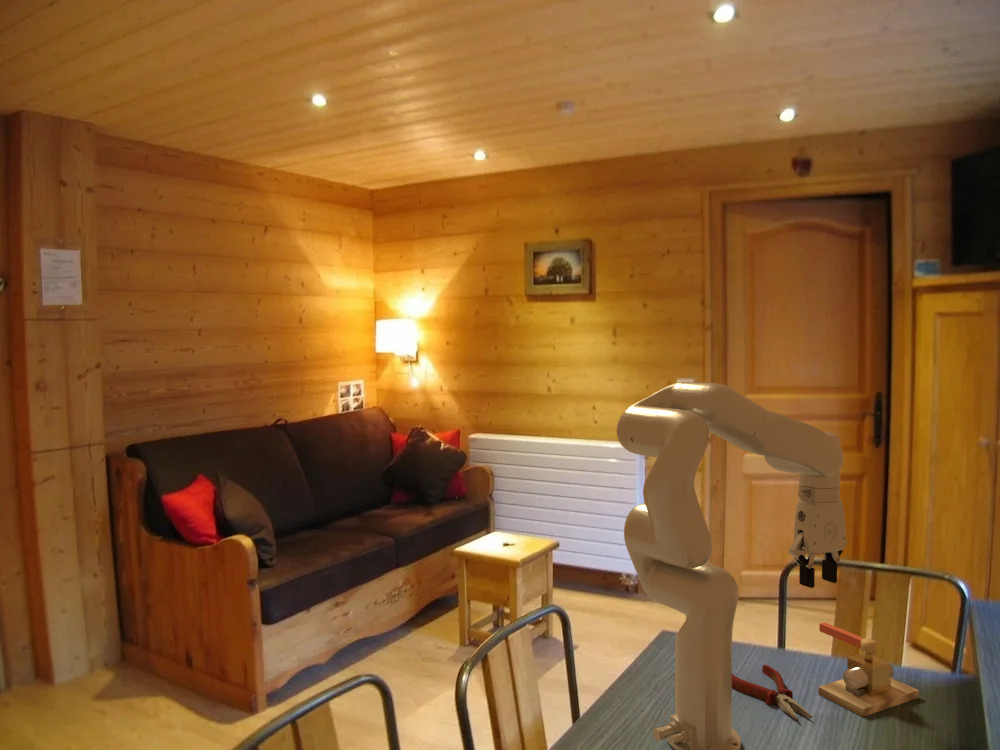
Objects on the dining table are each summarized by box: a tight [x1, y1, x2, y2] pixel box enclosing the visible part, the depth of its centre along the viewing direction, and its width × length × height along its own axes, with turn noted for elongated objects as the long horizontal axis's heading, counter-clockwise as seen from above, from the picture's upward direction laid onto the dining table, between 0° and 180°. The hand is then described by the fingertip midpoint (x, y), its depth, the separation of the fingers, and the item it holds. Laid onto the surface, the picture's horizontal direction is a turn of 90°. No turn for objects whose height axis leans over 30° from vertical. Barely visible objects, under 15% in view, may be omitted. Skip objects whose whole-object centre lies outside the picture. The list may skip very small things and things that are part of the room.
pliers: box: [732, 664, 813, 722], centre depth 145 cm, size 12×20×3 cm, turn 14°
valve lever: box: [819, 621, 878, 655], centre depth 149 cm, size 12×3×2 cm, turn 26°
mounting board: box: [817, 677, 920, 718], centre depth 145 cm, size 16×10×2 cm, turn 116°
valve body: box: [842, 652, 895, 697], centre depth 145 cm, size 10×6×7 cm, turn 116°
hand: (818, 582), depth 148 cm, fingers open, 5 cm apart
